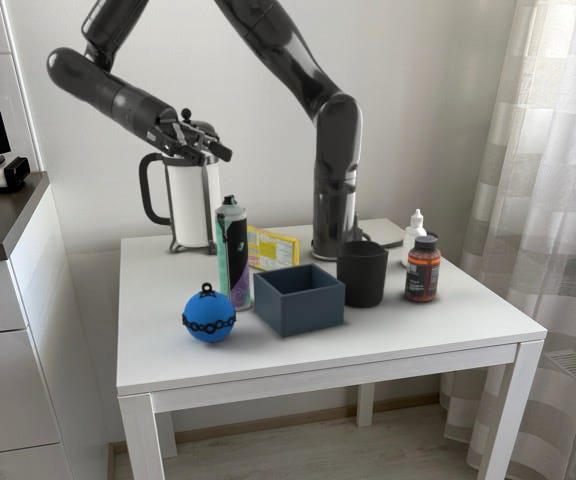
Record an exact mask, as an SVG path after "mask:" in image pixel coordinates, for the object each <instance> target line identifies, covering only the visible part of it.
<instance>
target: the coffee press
mask: <svg viewBox="0 0 576 480" xmlns="http://www.w3.org/2000/svg"><path fill="white" fill-rule="evenodd" d="M192 114H193V113H192V110H190V109H189V107H188V108H187V107H184V108H182V109H181V111H180V116H181V117H182V120H179V122H180V123H181V122H183V123H186V124H189V125H190V127H192V123H195V124H197V125H199V126H200V127H202V128H204V129H206V130H208V131H209V132H211V133H213V134H215V135H217V136H218V137H219V133H218V132H216V129H215V127H214V126H213V125H212V124H211V123H209V122H207V121H204V120H194V119H192V120H191V117H192ZM207 142H208V143H210V141H208V140H207ZM219 143H220V144H222V145H224V144H223V142H222V141H221V139H220V140H219ZM197 144H198V142H197V141H196V142H195V145H197ZM203 146H204V145H203ZM165 147H166V148H167V149H168V147H167V145H166V146H165ZM201 152H202V153H204V154H205V155H206V160H205V163H204V166H203V167H198V166H197V165H195V164H193V163H192V162H190V161H188V160H187V159H185V158H184V157H183V158H179V157H177V156H176V154H175V155H174V157H169V156H168V155H166V154H165V153H163V152H162V151H161V152H156V151H155V152H150V153H147V154H145V155H144V156H143V157H142V158H141V160H140V162H139V165H138V180H139V181H138V182H139V188H140V194H141V202H142V206H143V211H144V213H145V215H146V217H147V218H148V220H150V221H151V222H152V223H154V224H156V225H160V226H167V227H170V231H171V236H172V240H171V243H170V244H169V247H168V250H169V251H170V252H171V253H173V254H176V253H177V252H178V251H179V249H181V248H182V247H185V248H186V247H187V248H203V247H205V248H206V250H207V252H208V254H209V255H214V254H217V246H216V245H217V241H216V228H215V209H217V208H219V207H220V206H221V205H222V204H221V203H222V198H221V183H220V169H219V162H220V158H218V157H216V156H214V155H213V154H211V153H209V152H206V151H203V150H201ZM157 161H161V162H162V164H163V172H164V179H165V187H166V195H167V205H168V210H169V211H168V212H169V217H163V216H159V215H157V214H156V213H155V211H154V209H153V205H152V199H151V193H150V192H151V191H150V184H149V178H148V168H149V166H150V164H151V163H152V162H157ZM175 244H177V245H176V246H175ZM174 246H175V248H174ZM173 248H174V249H173Z"/></svg>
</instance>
